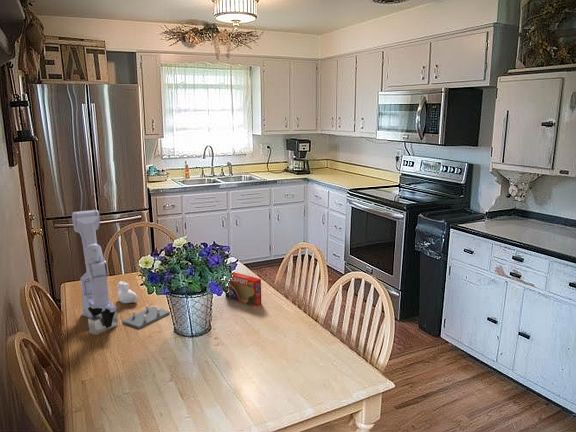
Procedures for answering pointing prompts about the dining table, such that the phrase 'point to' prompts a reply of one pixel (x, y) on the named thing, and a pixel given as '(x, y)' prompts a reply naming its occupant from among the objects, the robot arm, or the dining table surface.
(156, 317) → the pin tray
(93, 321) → the block
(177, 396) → the dining table surface
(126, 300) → the bust
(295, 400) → the dining table surface
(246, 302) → the toy box
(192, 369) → the dining table surface
